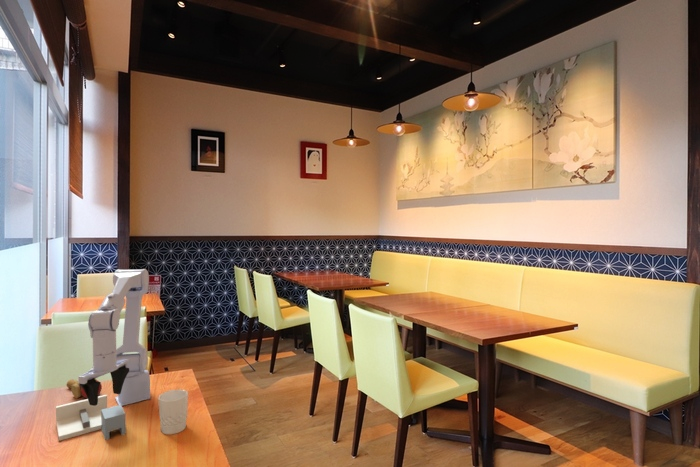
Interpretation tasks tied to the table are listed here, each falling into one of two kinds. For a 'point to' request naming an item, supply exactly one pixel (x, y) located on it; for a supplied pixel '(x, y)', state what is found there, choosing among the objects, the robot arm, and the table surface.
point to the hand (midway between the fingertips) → (105, 399)
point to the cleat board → (79, 417)
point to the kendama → (79, 388)
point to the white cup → (173, 411)
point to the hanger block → (113, 420)
